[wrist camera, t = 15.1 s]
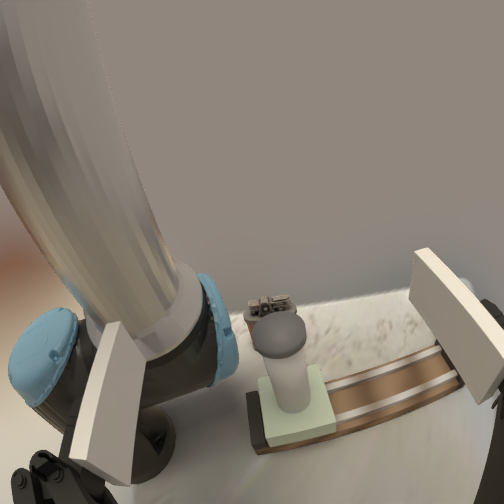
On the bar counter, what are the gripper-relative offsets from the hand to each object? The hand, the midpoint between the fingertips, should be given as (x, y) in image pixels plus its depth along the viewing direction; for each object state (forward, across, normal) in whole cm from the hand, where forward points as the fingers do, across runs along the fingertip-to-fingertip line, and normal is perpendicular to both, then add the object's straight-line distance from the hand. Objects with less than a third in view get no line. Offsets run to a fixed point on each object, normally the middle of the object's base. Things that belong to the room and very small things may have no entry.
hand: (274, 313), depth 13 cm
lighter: (+25, 0, -30) cm, 39 cm away
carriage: (+10, 0, -27) cm, 28 cm away
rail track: (+10, +9, -30) cm, 33 cm away
